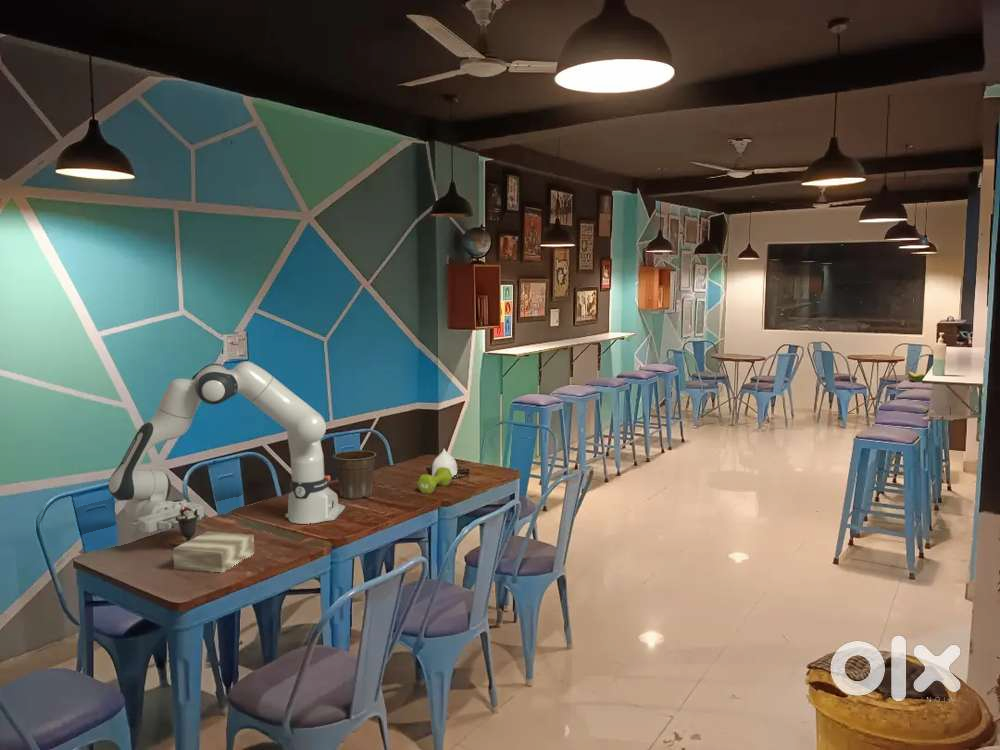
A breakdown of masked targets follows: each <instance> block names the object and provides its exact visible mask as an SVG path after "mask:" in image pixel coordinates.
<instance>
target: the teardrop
mask: <svg viewBox="0 0 1000 750" xmlns="http://www.w3.org/2000/svg"><path fill="white" fill-rule="evenodd" d="M455 459H456V458H454V457H453V455H452V454H450V453H448V451H446V449H445V448H443V450H442V452H440V454H438V455H437V456H436V457H435V458H434V460H433V462H432V464H431V466H432V467H431V475H432V476H433V477H434V474H435V472H436V470H437V469H438V468H440V467H444V468H448V469H449V470H450V472H451V474H452V477H453V476H454V475H456V474H457V472H458V464H457V461H456V460H455Z"/></svg>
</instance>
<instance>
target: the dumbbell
mask: <svg viewBox="0 0 1000 750" xmlns="http://www.w3.org/2000/svg"><path fill="white" fill-rule="evenodd" d="M452 480H453V478H452V474H451V472H450V470H449V469H448V468H444V467H440V468H438V469H437V470H436V472H435V474H434V477H433V476H432V474H427V473H426V474H422V475H420V477H419V478H418V481H417V484H416V485H417V487H418V489H419V491H420V492H421V493H422V494H428V495H429V494H432V493H434V491H435V489H436V488H437V486H442V487H443V486H444V487H445V486H446V487H447V486H449V485H450V484H451V482H452Z"/></svg>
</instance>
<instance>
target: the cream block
mask: <svg viewBox="0 0 1000 750" xmlns="http://www.w3.org/2000/svg"><path fill="white" fill-rule="evenodd" d="M254 537H255V535H254V534H249V533H248V534H247V533H238V532H237V533H233V532H223V531H221V532H220V531H210V530H209V531H206V532H204V533H202V534H199V535H197V536H196V537H194V538H191V540H189V541H187V540H186V542H184V543H182V544H179V545H178V546H175V547H174V548H172V556H173V557H172V558H173V569H174V570H181V569H183V570H185V571H192V570H193V571H194V572H203V571H206V572H205V573H214V572H220V573H219V574H224V573H225V571H226V570H227V571H229V570H230V569H232V568H234V567H235V566H237V565H238V563H239V562H240V563H242V562H244V561H245V560H247V559H249V558H251V557H252V556H253V554H254V553H255V540H254ZM251 555H252V556H251ZM254 555H255V554H254ZM248 557H249V558H248ZM246 558H247V559H246ZM244 559H245V560H244ZM243 560H244V561H243ZM241 561H242V562H241ZM240 563H239V564H240ZM236 564H237V565H236ZM234 565H235V566H234ZM233 566H234V567H233ZM231 567H232V568H231ZM228 569H229V570H228ZM183 570H182V571H183ZM207 571H209V572H207ZM227 571H226V572H227ZM223 572H224V573H223Z"/></svg>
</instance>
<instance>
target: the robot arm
mask: <svg viewBox="0 0 1000 750" xmlns="http://www.w3.org/2000/svg"><path fill="white" fill-rule="evenodd" d="M236 394H240V395H242V396H243V397H244V398H246V399H247V400H248V401H250V403H251V404H253V405H255V407H257V408H258V409H259V410H261V412H263V413H264V414H266V415H267V417H269V418H271V419H272V420H274V422H276V424H278V425H279V426H280V427H282V428H283V429H285V430H286V433H287V442H288V449H289V453H290V454H289V456H290V468H291V469H290V470H291V471H290V472H291V479H290V491H291V492H290V493H289V494H288V504H287V505H288V506H287V509H288V510H287V513H285V518H287V519H288V521H289V522H290V523H293V524H300V525H307V524H308V525H310V523H311V524H317V523H321V522H328V521H330V522H331V521H335V520H336V519H337V518H338V516H340V515H341V513H342V512H343V511H344V510H345V509H346V505H343V504H340V503H339V498H338V494H337V492H335V491H334V490H332V489H331V488H330V487H329V484H328V482H331V475H325V462H324V461H325V458H324V453H323V448H322V444H321V440H322V438H323V437H324V436H325V434H326V431H327V425H326V421H325V418H324V416H322V415H321V413H320V412H318V411H317V410H315V409H314V408H313V407H312V406H310V405H309V404H308V403H307V402H306V401H304V400H303V399H302V398H300V397H299V396H298V395H296V394H295V393H294V392H293V391H292V390H290V389H288V387H287V386H285V385H284V384H283V383H281V381H279V380H278V379H277V378H275V377H274V376H273V375H272V374H270V372H268V371H266V370H265V369H264V368H262V367H260V366H259V365H257V364H255V363H254V362H251V361H250V360H249V361H248V360H247V361H246V360H244V361H241V362H240V363H238V364H236V365H235V366H234V367H233V368H231V369H228V368H227V367H226V366H224V365H223V364H219V363H210V364H208V365H206V366H204V367H202V368H201V369H200V370H199V371H198V372H197V373H196V374H194V375H192V378H191V379H188V378H176V379H173V380H172V381H171V382H170V383H169V385H168V387H167V388H166V390H165V392H164V393H163V395H162V397H161V400H160V401H159V404H158V407H157V409H156V412H155V414H154V415H153V416H152V417H151V419H150V420H148V421H147V422H146V423H144V424H142V425H141V426H140V428H139V429H138V430H137V432H136V434H135V436H134V438H133V439H132V441H131V443H130V445H129V447H128V449H127V451H126V452H125V454H124V456H123V458H122V459H121V462H120V463H119V465H118V467H117V468H116V469H115V471H113V472H112V475H111V476H110V478H109V480H108V484H107V485H108V486H107V487H108V491H109V493H110V494H111V496H112V497H113V498H114V499H116V500H117V501H119V502H121V501H122V502H123V501H126V502H125V504H124V513H125V515H126V517H127V518H128V519H129V520H130V521H133V522H132V524H131V525H132V526H133V527H137V529H138V530H139V531H141V532H143V533H145V534H147V533H148V534H149V533H153V532H157V531H160V530H161V531H162V530H167V529H168V530H171V529H174V528H175V526H177V525H179V523H178V521H176V517H177V516H178V514H179V513H180V510H181V506H182V509H183V510H184V508H185V507H188V508H190V509H192V510H193V512H195V510H196V509H197V515H199V517H197V520H196V522H198V521H201V520H202V518H204V517H205V507H204V506H203V505H202V504H199V503H196V502H192V501H187V499H183V498H182V499H175V500H168V498H169V496H170V493H171V487H172V484H171V482H172V481H171V480H170V477H169V475H168V474H167V472H165V471H164V470H162V469H141V468H140V466H141V464H142V462H143V461H144V459H145V457H146V455H147V453H148V452H149V450H150V449H151V448H152V447H154V446H156V445H158V444H161V443H163V442H167V441H171V440H174V439H178V438H180V437H182V436H183V435H185V434H186V433H187V432H188V430H189V429H190V427H191V425H192V423H193V420H194V417H195V414H196V412H197V407H199V405H200V403H201V402H202V401H203V402H204V403H205V404H208V405H218V404H221V403H224V402H226V401H227V400H229V399H230V398H232V397H234V396H235V395H236ZM139 468H140V469H139ZM179 503H181V504H180V505H179ZM184 506H185V507H184Z"/></svg>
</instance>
